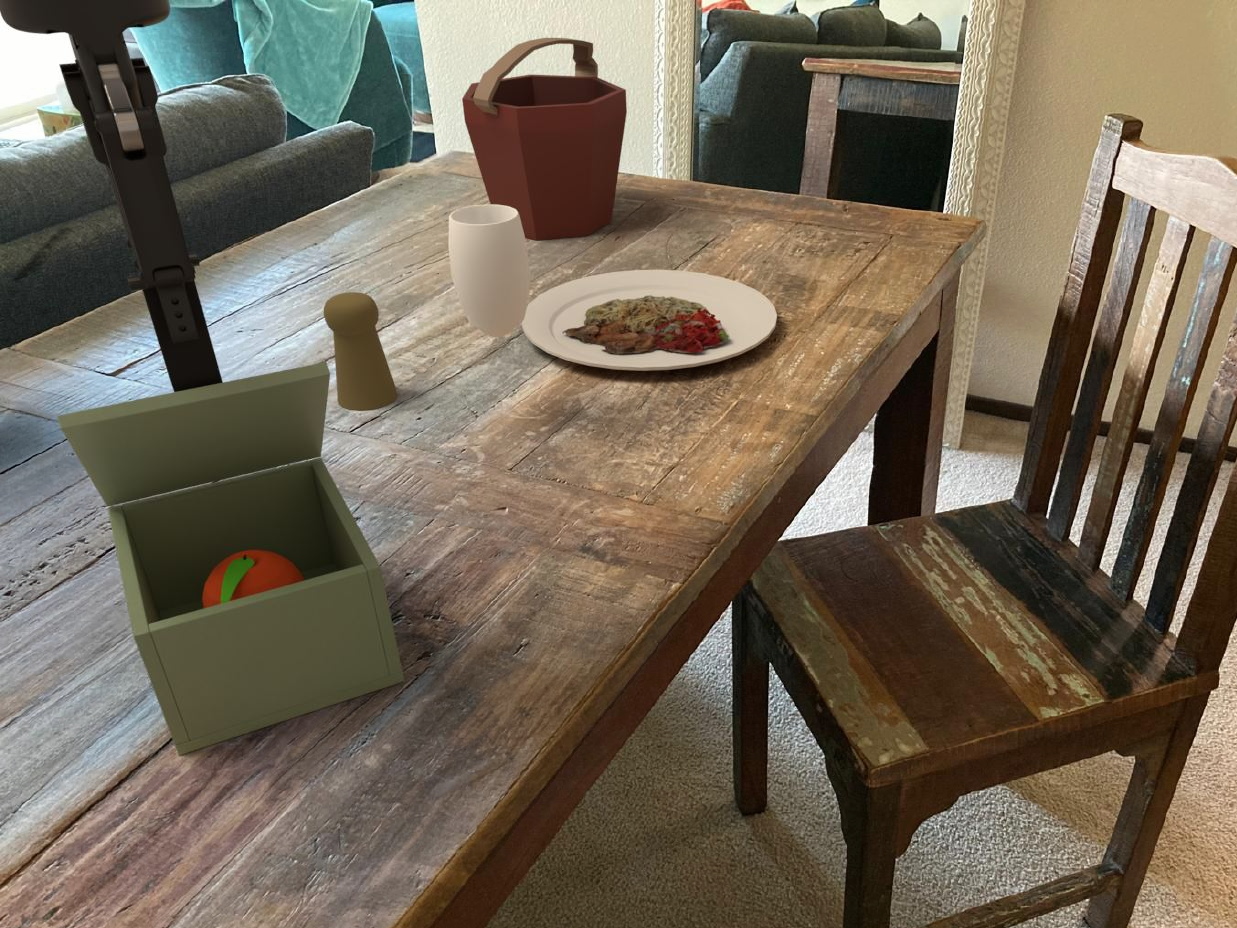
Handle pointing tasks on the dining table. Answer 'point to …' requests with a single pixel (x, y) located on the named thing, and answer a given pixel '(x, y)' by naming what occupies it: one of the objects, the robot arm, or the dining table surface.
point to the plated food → (649, 320)
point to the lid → (201, 433)
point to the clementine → (248, 576)
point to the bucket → (548, 142)
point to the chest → (253, 603)
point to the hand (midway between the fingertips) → (197, 383)
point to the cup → (490, 266)
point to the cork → (358, 353)
